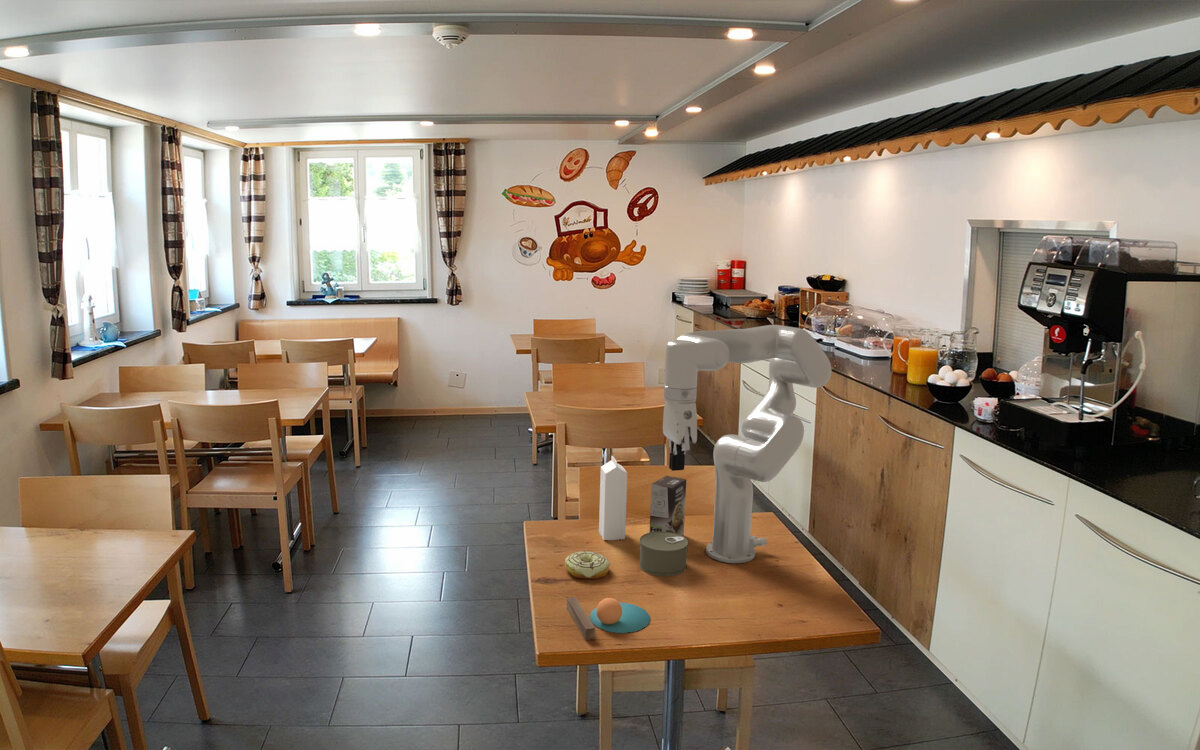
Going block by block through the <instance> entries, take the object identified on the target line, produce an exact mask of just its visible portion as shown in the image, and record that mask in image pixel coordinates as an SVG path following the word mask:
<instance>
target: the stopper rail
mask: <svg viewBox="0 0 1200 750" xmlns="http://www.w3.org/2000/svg"><path fill="white" fill-rule="evenodd" d="M566 610H567V611H568V614H569V615H570V617H571V619H572V620H573V621H574V623H575V625H576V627H577V629H578V630H579V632H580V634H581V636H582V637H583V639H584V640H585V641H591V639H592V640H595V639H596V637H595V636H596V626H595V625H594V624H593V623H592V622H591V620H590V616H588V614H587V613H586V611H585V610H584V607H582V605H581V603H580V602H579V600H578V598H577V597H576V596H574V597H567V598H566Z"/></svg>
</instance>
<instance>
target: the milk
mask: <svg viewBox="0 0 1200 750" xmlns="http://www.w3.org/2000/svg"><path fill="white" fill-rule="evenodd" d="M599 478H600V479H599V480H600V481H599V484H600V486H599V515H598V516H599V517H598V518H599V519H598V523H599V524H598V533H599V536H600V537H601V536H602V537H601V538H602V540H603V541H604V540H608V541H620V540H619V539H621V540H622V539H623V540H626V524H627V523H626V522H627V520H626V519H627V498H628V496H627V493H628V472H627V471H626V469H625V468H624V467H623V466H622V464H619V463H618V462H617V460H616V458H615V457H614V455H611V460H609V461H608V462H606V463H605V464H603V465H601V466H600V477H599Z"/></svg>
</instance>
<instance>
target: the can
mask: <svg viewBox="0 0 1200 750" xmlns="http://www.w3.org/2000/svg"><path fill="white" fill-rule="evenodd" d="M639 544H640V545H639V568H640V569H641V570H642V571H643V572H645V573H646V574H649V575H652V576H658V577H674V576H679V575H682V574H684V572H685V571H686V570H687V557H688V545H689V541H688V539H687V538H686V537H685V536H684V535H683V536H681V535H679V534H676V533H672V532H664V531H657V532H650V533H649V532H647V533H645V534H642V535H641V536H640V537H639Z"/></svg>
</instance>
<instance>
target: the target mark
mask: <svg viewBox="0 0 1200 750" xmlns="http://www.w3.org/2000/svg"><path fill="white" fill-rule="evenodd" d="M619 603H620V605H621V607H622V616H621V618H620V619H619V621H618V622H616V623H615V624H611V625H607V624H604V623H602V622H601V621H600V620H599V619H598V617H597V613H596V610H597V606H596V607H595V608H594V609H592V610H591V612H590V614H589V619H590V621H591V622H592V624H593V625H594V627H595V628H598V629H600V630H602V629H603V630H602V631H605V630H606V631H605V632H609V633H614V632H615V633H616V634H629V633H628V632H630V633H634V632H639V631H640V630H643V629H644V627H645V628H646V627H647V626H648V625H649V624H650V622H651V617H650V614H649V613H648V611H647V610H646V609H644V608H642V607H640V606H639V605H636V604H632V603H627V602H619ZM642 628H643V629H642ZM638 630H639V631H638Z"/></svg>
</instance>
